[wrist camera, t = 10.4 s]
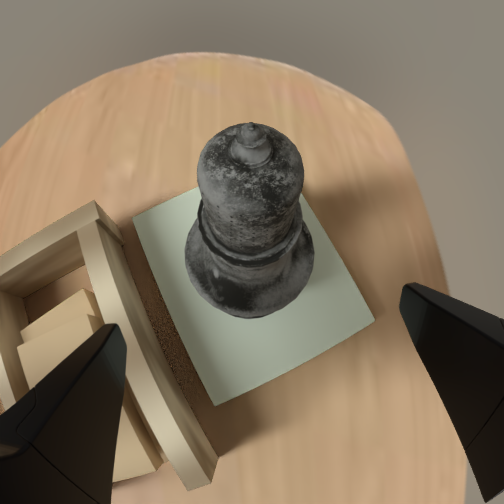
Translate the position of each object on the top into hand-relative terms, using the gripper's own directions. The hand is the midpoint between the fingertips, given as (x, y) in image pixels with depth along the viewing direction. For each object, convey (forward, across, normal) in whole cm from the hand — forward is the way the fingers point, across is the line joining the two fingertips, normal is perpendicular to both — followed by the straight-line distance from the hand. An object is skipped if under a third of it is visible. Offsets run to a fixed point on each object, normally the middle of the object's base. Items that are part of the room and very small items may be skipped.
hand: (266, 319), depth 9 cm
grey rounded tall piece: (+8, 0, +3) cm, 9 cm away
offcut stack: (+4, +9, +8) cm, 13 cm away
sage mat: (+9, 0, +3) cm, 9 cm away
